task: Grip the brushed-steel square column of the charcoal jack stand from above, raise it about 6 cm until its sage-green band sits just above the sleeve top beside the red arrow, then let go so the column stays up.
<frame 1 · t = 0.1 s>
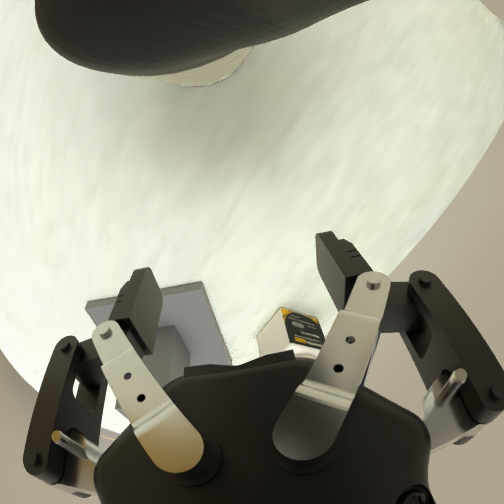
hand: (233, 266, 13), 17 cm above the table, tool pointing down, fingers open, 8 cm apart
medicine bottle: (286, 326, 42), on the table
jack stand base: (162, 335, 40), on the table
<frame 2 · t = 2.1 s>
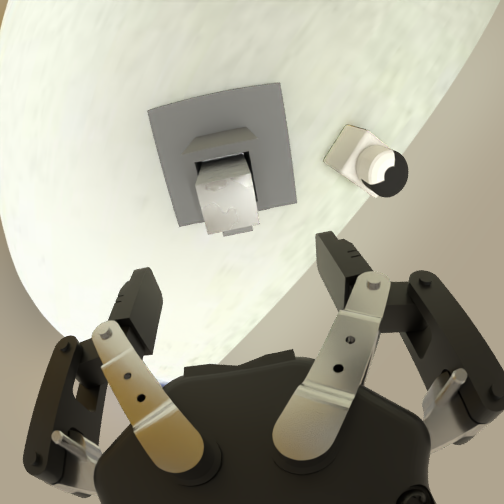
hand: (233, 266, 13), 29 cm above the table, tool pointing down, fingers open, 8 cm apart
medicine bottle: (350, 154, 39), on the table
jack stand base: (225, 153, 37), on the table
steel column: (226, 173, 28), point 11 cm above the table, slide at 0.0 cm
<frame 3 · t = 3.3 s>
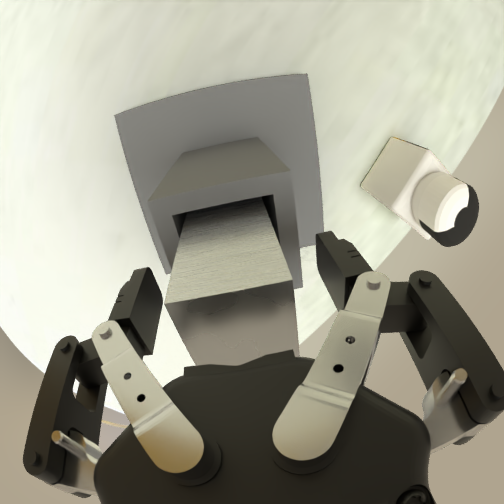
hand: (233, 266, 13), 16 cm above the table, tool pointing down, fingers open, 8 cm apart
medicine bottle: (394, 176, 28), on the table
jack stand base: (226, 175, 27), on the table
steel column: (230, 222, 17), point 11 cm above the table, slide at 0.0 cm
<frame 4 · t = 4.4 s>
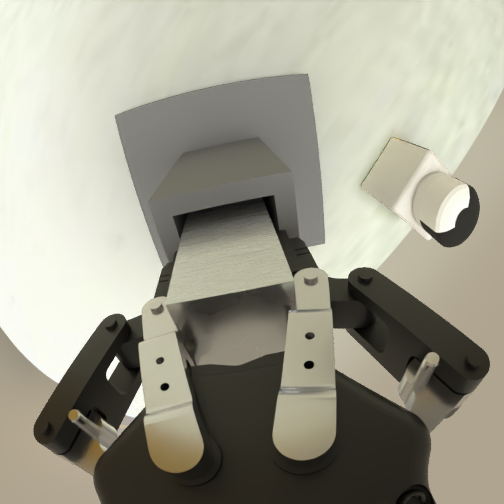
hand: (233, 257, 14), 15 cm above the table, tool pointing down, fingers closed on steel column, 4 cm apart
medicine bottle: (394, 176, 28), on the table
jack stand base: (227, 175, 27), on the table
steel column: (230, 222, 17), point 11 cm above the table, slide at 0.0 cm, touching gripper
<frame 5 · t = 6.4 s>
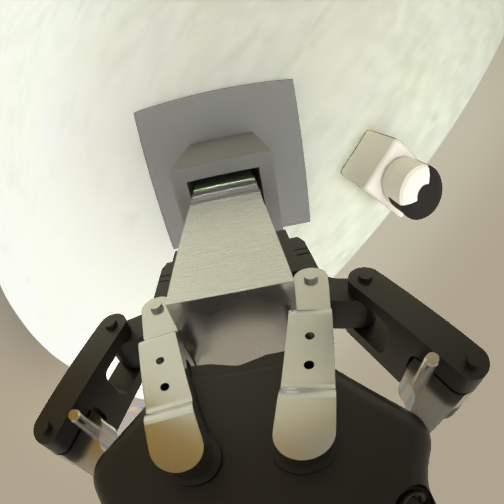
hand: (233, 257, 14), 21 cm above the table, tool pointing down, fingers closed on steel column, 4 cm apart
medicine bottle: (371, 164, 34), on the table
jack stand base: (226, 163, 32), on the table
steel column: (230, 223, 17), point 17 cm above the table, slide at 5.9 cm, touching gripper
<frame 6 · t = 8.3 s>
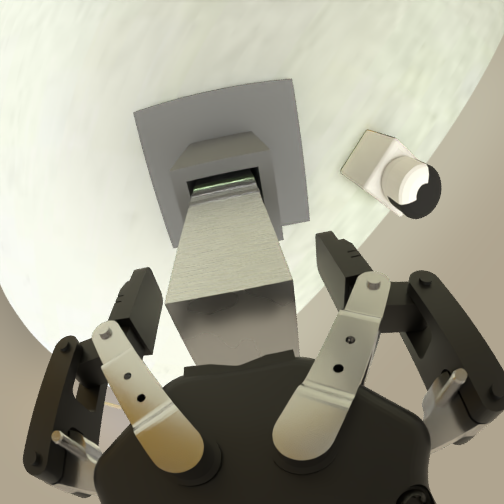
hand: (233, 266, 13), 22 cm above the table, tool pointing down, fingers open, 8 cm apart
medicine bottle: (370, 163, 34), on the table
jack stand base: (226, 163, 32), on the table
steel column: (230, 222, 17), point 17 cm above the table, slide at 5.9 cm
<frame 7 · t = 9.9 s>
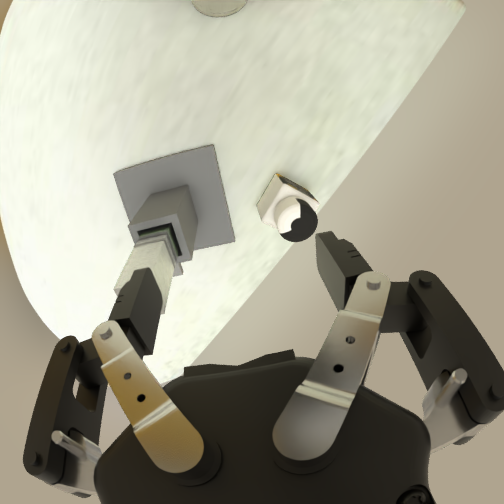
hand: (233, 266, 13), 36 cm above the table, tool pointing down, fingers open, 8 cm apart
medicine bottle: (282, 197, 50), on the table
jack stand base: (175, 204, 48), on the table
steel column: (155, 253, 33), point 17 cm above the table, slide at 5.9 cm
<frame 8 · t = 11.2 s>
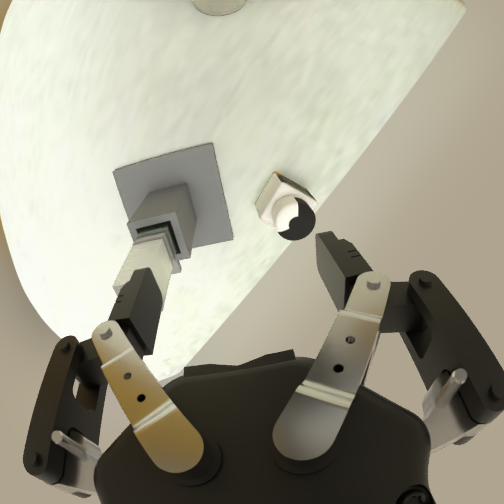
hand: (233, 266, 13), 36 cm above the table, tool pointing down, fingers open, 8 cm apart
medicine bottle: (280, 196, 50), on the table
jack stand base: (174, 202, 48), on the table
steel column: (154, 251, 33), point 17 cm above the table, slide at 5.9 cm
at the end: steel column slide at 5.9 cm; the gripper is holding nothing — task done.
